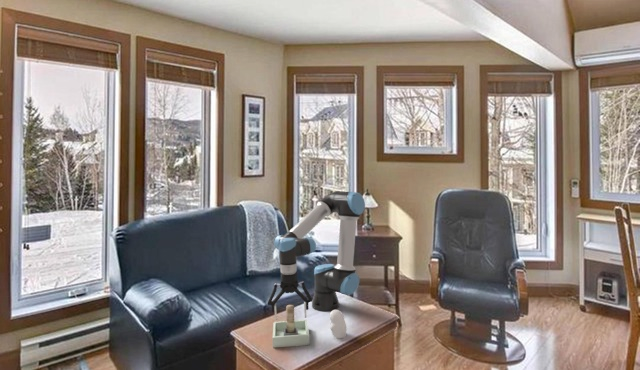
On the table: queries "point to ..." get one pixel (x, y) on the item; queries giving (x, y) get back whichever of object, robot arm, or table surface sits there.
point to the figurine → (337, 324)
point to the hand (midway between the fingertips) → (290, 317)
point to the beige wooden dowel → (290, 318)
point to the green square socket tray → (290, 334)
